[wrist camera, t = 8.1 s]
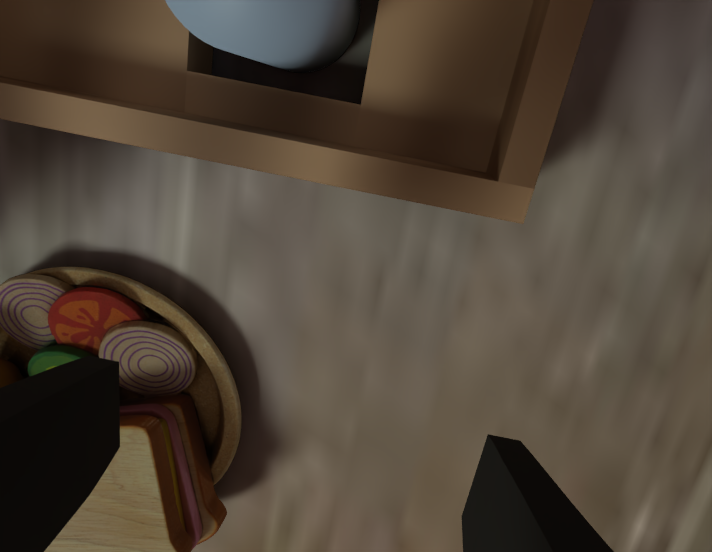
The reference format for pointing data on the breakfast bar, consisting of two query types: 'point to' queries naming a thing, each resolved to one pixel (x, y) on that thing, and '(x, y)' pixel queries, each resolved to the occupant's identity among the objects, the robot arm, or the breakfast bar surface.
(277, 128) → the box with square hole
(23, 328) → the toy sandwich meal
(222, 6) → the peg
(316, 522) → the breakfast bar surface
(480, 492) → the robot arm
